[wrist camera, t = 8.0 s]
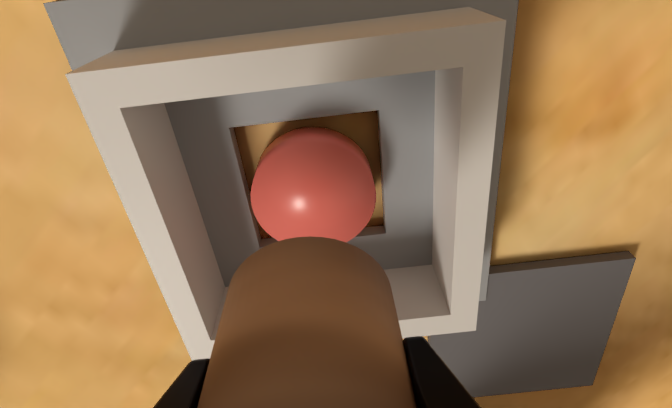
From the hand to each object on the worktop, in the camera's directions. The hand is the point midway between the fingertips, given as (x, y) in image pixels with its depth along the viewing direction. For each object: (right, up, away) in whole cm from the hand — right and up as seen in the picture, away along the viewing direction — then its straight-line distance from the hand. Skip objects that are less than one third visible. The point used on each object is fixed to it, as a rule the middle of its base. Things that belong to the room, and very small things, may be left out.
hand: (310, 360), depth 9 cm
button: (0, +4, +7) cm, 8 cm away
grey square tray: (0, +4, +7) cm, 9 cm away
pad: (+10, -3, +12) cm, 16 cm away
